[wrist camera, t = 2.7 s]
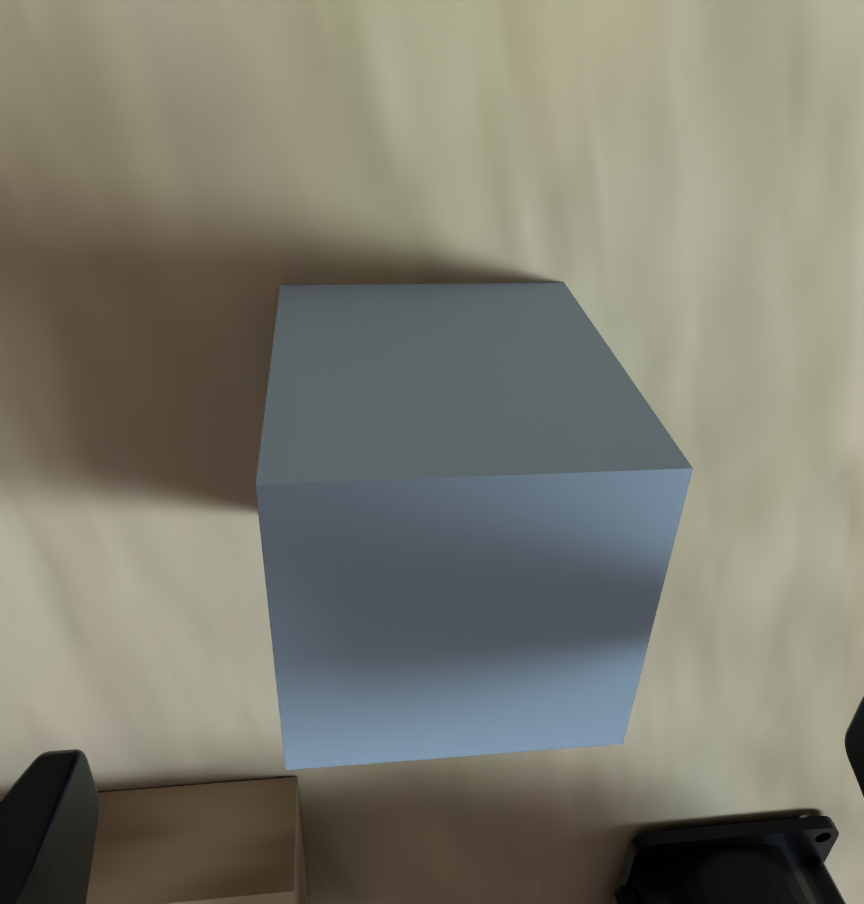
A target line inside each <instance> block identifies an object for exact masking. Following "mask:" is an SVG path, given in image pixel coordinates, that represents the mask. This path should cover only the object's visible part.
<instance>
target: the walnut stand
mask: <svg viewBox="0 0 864 904" xmlns="http://www.w3.org/2000/svg"><path fill="white" fill-rule="evenodd" d="M98 796H99V818H98V825H97V832H96V839H95V845H94V852H93V859H92V866H91V872H90V879H89V886H88V893H87V899H86V904H309V896H308V885H307V875H306V864H305V854H304V843H303V833H302V823H301V812H300V802H299V791H298V781H297V777H287V778H274V779H262V780H249V781H237V782H225V783H212V784H200V785H187V786H175V787H162V788H150V789H138V790H125V791H113V792H100V793H98Z"/></svg>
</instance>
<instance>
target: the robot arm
mask: <svg viewBox="0 0 864 904" xmlns="http://www.w3.org/2000/svg"><path fill="white" fill-rule="evenodd" d="M845 748H846V753H847V756H848V759H849V761H850V764H851V766H852V769H853V771H854V774H855V776H856V779H857V781H858V784H859V786H860V789H861V791H862V794H863V796H864V697H863V698H862V700H861V702H860V704H859V706H858V709H857V711H856V713H855V715H854V717H853V719H852V721H851V723H850V725H849V727H848V729H847V732H846V734H845ZM98 818H99V796H98V792H97V789H96V786H95V783H94V780H93V776H92V773H91V770H90V767H89V764H88V761H87V758H86V756H85V754H84V753H83V752H82V751H81V750H77V749H74V750H60V751H49V752H45V753H43V754H41V755H40V756H38V757H37V758H36V759H35V760H34V761H33V763H32V764H31V765H30V766H29V767H28V768H27V769H26V771H25V772H24V773H23V774H22V775H21V776H20V778H19V779H18V780H17V781H16V782H15V783H14V785H13V786H12V787H11V788H10V789H9V790H8V792H7V793H6V794H5V795H4V796H3V797H2V799H1V800H0V904H86V899H87V893H88V886H89V879H90V872H91V866H92V859H93V852H94V845H95V839H96V832H97V825H98ZM838 834H839V832H838V830H837V829H836V827H835V825H834V823H833V822H832V820H831V818H830V817H827V816H815V817H805V818H794V819H783V820H772V821H762V822H751V823H740V824H729V825H718V826H708V827H697V828H686V829H675V830H665V831H654V832H647V833H642V834H640V835H638V836H636V837H635V838H634V839H633V840H632V842H631V843H630V847H629V850H628V854H627V857H626V861H625V864H624V867H623V871H622V874H621V878H620V881H619V884H618V886H617V888H616V890H615V891H614V893H613V896H612V899H611V903H610V904H846V903H845V901H844V899H843V898H842V896H841V894H840V892H839V890H838V888H837V887H836V885H835V883H834V881H833V879H832V877H831V875H830V874H829V872H828V870H827V868H826V866H825V864H824V862H825V860H826V858H827V856H828V854H829V852H830V850H831V848H832V847H833V845H834V843H835V841H836V839H837V837H838Z"/></svg>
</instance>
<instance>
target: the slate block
mask: <svg viewBox="0 0 864 904" xmlns="http://www.w3.org/2000/svg"><path fill="white" fill-rule="evenodd" d="M692 469H693V468H692V467H691V465H690V464H689V462H688V461H687V459H686V458H685V456H684V455H683V454H682V452H681V451H680V449H679V448H678V446H677V445H676V443H675V442H674V441H673V439H672V438H671V436H670V435H669V433H668V432H667V431H666V429H665V428H664V426H663V425H662V423H661V422H660V420H659V419H658V418H657V416H656V415H655V413H654V412H653V410H652V409H651V407H650V406H649V405H648V403H647V402H646V400H645V399H644V397H643V396H642V394H641V393H640V392H639V390H638V389H637V387H636V386H635V384H634V383H633V381H632V380H631V379H630V377H629V376H628V374H627V373H626V371H625V370H624V368H623V367H622V366H621V364H620V363H619V361H618V360H617V358H616V357H615V355H614V354H613V353H612V351H611V350H610V348H609V347H608V345H607V344H606V342H605V341H604V340H603V338H602V337H601V335H600V334H599V332H598V331H597V329H596V328H595V327H594V325H593V324H592V322H591V321H590V319H589V318H588V317H587V315H586V314H585V312H584V311H583V309H582V308H581V306H580V305H579V304H578V302H577V301H576V299H575V298H574V296H573V295H572V293H571V292H570V291H569V289H568V288H567V286H566V285H565V283H564V282H552V283H454V284H355V285H280V290H279V299H278V307H277V315H276V323H275V331H274V339H273V347H272V355H271V363H270V371H269V379H268V387H267V395H266V404H265V412H264V420H263V428H262V436H261V444H260V452H259V460H258V468H257V476H256V484H255V485H256V495H257V504H258V514H259V523H260V533H261V542H262V551H263V561H264V570H265V580H266V589H267V599H268V608H269V617H270V627H271V636H272V646H273V655H274V664H275V674H276V683H277V693H278V702H279V712H280V721H281V730H282V740H283V749H284V759H285V768H286V770H295V769H308V768H321V767H334V766H346V765H359V764H372V763H385V762H398V761H410V760H423V759H436V758H449V757H462V756H474V755H487V754H500V753H513V752H526V751H538V750H551V749H564V748H577V747H590V746H602V745H615V744H623V741H624V737H625V733H626V729H627V725H628V721H629V717H630V713H631V709H632V705H633V701H634V697H635V693H636V690H637V686H638V682H639V678H640V674H641V670H642V666H643V662H644V658H645V654H646V650H647V646H648V642H649V638H650V634H651V631H652V627H653V623H654V619H655V615H656V611H657V607H658V603H659V599H660V595H661V591H662V587H663V583H664V579H665V575H666V572H667V568H668V564H669V560H670V556H671V552H672V548H673V544H674V540H675V536H676V532H677V528H678V524H679V520H680V516H681V512H682V509H683V505H684V501H685V497H686V493H687V489H688V485H689V481H690V477H691V473H692Z"/></svg>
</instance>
